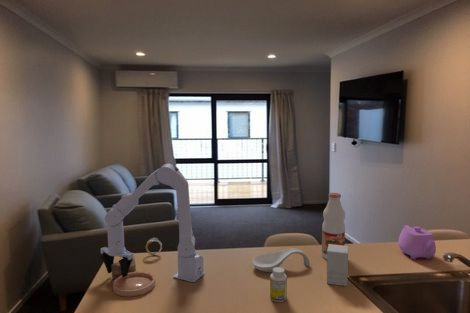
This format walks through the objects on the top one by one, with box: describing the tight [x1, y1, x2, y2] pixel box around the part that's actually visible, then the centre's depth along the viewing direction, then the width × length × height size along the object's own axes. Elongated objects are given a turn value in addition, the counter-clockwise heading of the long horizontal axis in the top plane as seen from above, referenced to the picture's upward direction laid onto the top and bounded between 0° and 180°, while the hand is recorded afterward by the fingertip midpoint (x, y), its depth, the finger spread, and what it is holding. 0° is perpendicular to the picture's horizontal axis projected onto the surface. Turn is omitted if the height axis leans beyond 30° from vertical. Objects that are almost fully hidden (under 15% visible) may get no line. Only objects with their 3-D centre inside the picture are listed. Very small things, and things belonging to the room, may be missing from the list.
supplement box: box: [326, 244, 349, 287], centre depth 126 cm, size 7×7×13 cm
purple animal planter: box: [398, 225, 437, 260], centre depth 148 cm, size 20×12×13 cm, turn 5°
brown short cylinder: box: [111, 261, 122, 282], centre depth 129 cm, size 4×4×6 cm
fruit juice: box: [321, 192, 346, 260], centre depth 146 cm, size 9×9×28 cm
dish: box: [112, 271, 156, 298], centre depth 123 cm, size 15×15×2 cm
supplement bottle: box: [269, 266, 288, 303], centre depth 114 cm, size 6×6×10 cm
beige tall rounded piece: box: [128, 255, 137, 273], centre depth 136 cm, size 4×4×6 cm
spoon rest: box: [251, 247, 311, 273], centre depth 138 cm, size 24×12×7 cm, turn 103°
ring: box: [145, 237, 163, 257], centre depth 150 cm, size 7×3×8 cm, turn 95°
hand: (117, 274), depth 129 cm, fingers open, 7 cm apart
